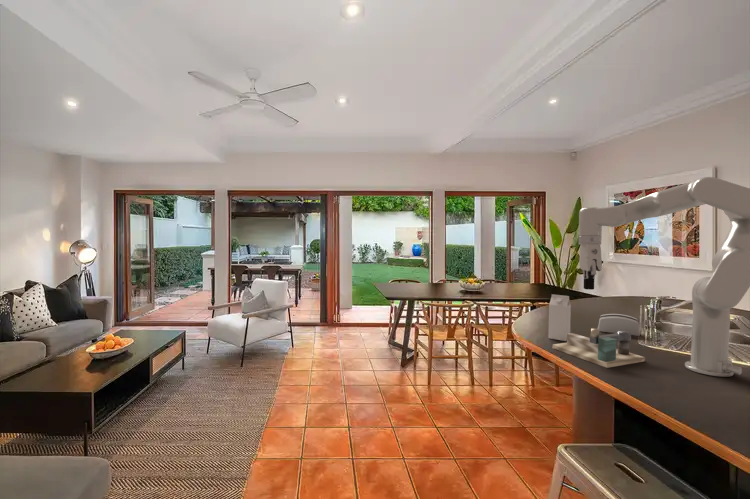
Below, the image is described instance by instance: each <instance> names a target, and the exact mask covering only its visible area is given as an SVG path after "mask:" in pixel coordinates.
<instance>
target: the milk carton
mask: <svg viewBox="0 0 750 499" xmlns="http://www.w3.org/2000/svg"><path fill="white" fill-rule="evenodd" d="M571 307H572V302H571V300H570V296H569V295H560V294H552V293H551V296H550V301H549V304H548V339H550V340H558V341H564V342H567V334H569V333H571V315H572V314H571V311H572V310H571V309H572V308H571Z"/></svg>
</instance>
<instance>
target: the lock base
mask: <svg viewBox="0 0 750 499" xmlns="http://www.w3.org/2000/svg"><path fill="white" fill-rule="evenodd" d="M552 349H553V350H557V351H559V352H562V353H564V354H567V355H570V356H572V357H575V358H578V359H581V360H584V361H587V362H589V363H592V364H595V365H597V366H599V367H600V366H601V367H603V368H606V369H607V368H614V367H619V366H625V365H632V364H637V363H643V362H645V361H646V357H645V356H642V355H639V354H636V353H632V352H630V342H624V341H616V339H614V338H610V337H605V338H598V344H594V343H590V337H587V336H583V335H582V334H581V335H580V334H577V333H574V332H573V333H572V332H570V333H569V334H567V341H566V342H561V343H554V344H552Z"/></svg>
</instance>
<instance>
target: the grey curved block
mask: <svg viewBox="0 0 750 499" xmlns="http://www.w3.org/2000/svg"><path fill="white" fill-rule="evenodd" d="M599 316H600V317H599V320H598V325H597V329H599V332H601V333H603V332H604V333H609V334H614V333H617V331H628V332H631V336H637V337H640V335H641V331H640V325H639V324H640V323H639V322H640V321H639V319H638V318H636V317H633V316H631V315H627V314H620V313H606V314H601V315H599Z"/></svg>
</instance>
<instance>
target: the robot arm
mask: <svg viewBox="0 0 750 499" xmlns="http://www.w3.org/2000/svg"><path fill="white" fill-rule="evenodd" d="M704 205H708V206H711V207H713V208H716V209H719V210H721V211H723V214H725V215H726V216H727V217H728V219H729V221H730V229H729V231H728V233H727V235H726V237H725V239H724V240H723V241H722V244H721V246H720V247H719V248H718V249H717V251H716V253H715V254H714V256H713V257H712V260H711V266H712V268H713V270H714V272H713V273H712V274H711V276H706V277H705V276H704V277H702V278H700V279H698V280H697V281H695V283H694V284H693V286H692V290H691V300H692V322H691V324H692V325H691V326H692V327H691V349H690V350H691V351H690V360H688V361H685V362H684V366H685V368H686V369H688V370H690V371H693V372H695V373H698V374H703V375H708V376H711V377H712V376H713V377H723V378H724V377H726V378H727V377H733V376H734V374H735V375H742V373H743V368H742V367H740V366H737V365H733V360H731V359H729V350H730V349H729V346H730V328H731V311H730V310H731V309H732V308H735V307H736V306H737V305H738V304H739V303H740V302H741V301H742V300H743V299H744V296H745V295H746V293H747V291H749V289H750V187H746V186H743V185H740V184H737V183H733V182H731V181H727V180H724V179H720V178H719V177H718V178H717V177H713V176H704V177H702V178H699V179H696V180H693V181H690V182H687V183H683V184H679V185H677V186H673V187H670V188H667V189H666V188H665V189H662V190H659V191H655V192H653V193H650V194H648V195H646V196H643V197H641V198H639V199H637V200H633V201H630V202H626V203H622V204H619V205H612V206H607V207H595V206H594V207H582V208H581V209H580V210H579V212H578V245H580V246H579V264H578V265H579V268H580V269H581V270H582V273H583V289H584V290H590V291H591V290H595V278H596V275H597V272H601V271H602V269H603V268H602V266H603V265H602V264H603V263H602V247H601V246H602V229H603V227H608V228H609V227H610V228H616V227H620V226H623V225H626V224H630V223H633V222H639V221H641V220H646V219H647V220H648V219H651V218H659V217H663V216H666V215H671V214H674V213H677V212H681V211H685V210H688V209H689V210H690V209H693V208H696V207H700V206H704Z"/></svg>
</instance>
